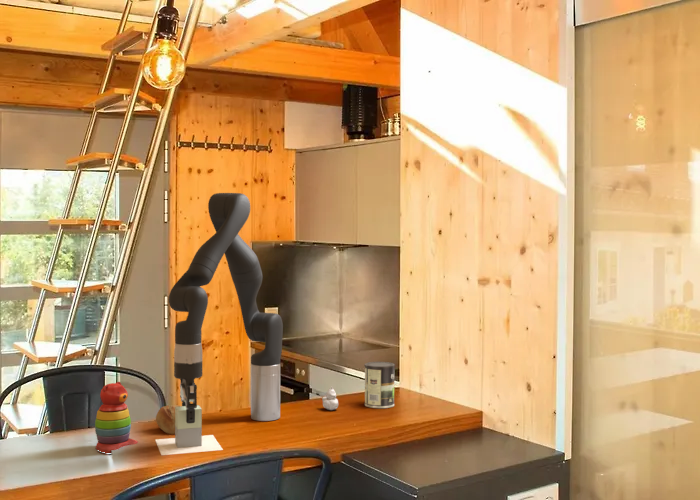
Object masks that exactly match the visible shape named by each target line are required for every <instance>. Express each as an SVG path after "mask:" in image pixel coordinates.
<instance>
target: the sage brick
mask: <svg viewBox="0 0 700 500" xmlns="http://www.w3.org/2000/svg"><path fill="white" fill-rule="evenodd" d="M178 406H179V407H175V425H176V427H177V429H188V428H201V427H202V426H203V425H202V424H203V423H202V422H203V421H202V419H203V418H202V417H203V415H202V414H203V409H202V407H201V406H200V405H198V404H197V408H196V409H195V422H194V423H187V422H186V406H182V405H178ZM202 428H203V427H202Z"/></svg>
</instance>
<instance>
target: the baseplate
mask: <svg viewBox="0 0 700 500" xmlns="http://www.w3.org/2000/svg"><path fill="white" fill-rule="evenodd" d="M154 440H155V443H156V445H157V448H158V451H159V453H160V456H168V455H170V456H171V455H179V454H193V453H201V452H204V453H206V452H214V451H215V452H216V451H223V450H224V449H223V447H222V445H220V443H219V442H218V441H217V439H216V437H215V436H214V434H207V435H202V446H195V447H183V448H177V446H176V444H175V437H170V438H169V437H168V438H159V439H154Z"/></svg>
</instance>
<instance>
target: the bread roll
mask: <svg viewBox="0 0 700 500" xmlns="http://www.w3.org/2000/svg"><path fill="white" fill-rule="evenodd" d="M179 406H180V405H177V404H173V405H165V406H161V407H160V408H159V409H158V411H157V413H156V415H155V422H156V425H157V426H158V428H159V429H160V430H162V431H163V432H164V433H166V434H168V435H175V407H179Z"/></svg>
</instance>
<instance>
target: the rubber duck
mask: <svg viewBox="0 0 700 500" xmlns="http://www.w3.org/2000/svg"><path fill="white" fill-rule="evenodd" d="M325 393H326V394H325V396H323V397H322V406H323V408H324V409H325V410H328V411H335V410H336V409H338V407H339V399H338V398H337V393H336V391H335V389H334V388H333V386H331V387H330V388H329V389H328V390H327V391H326V392H325Z"/></svg>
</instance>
